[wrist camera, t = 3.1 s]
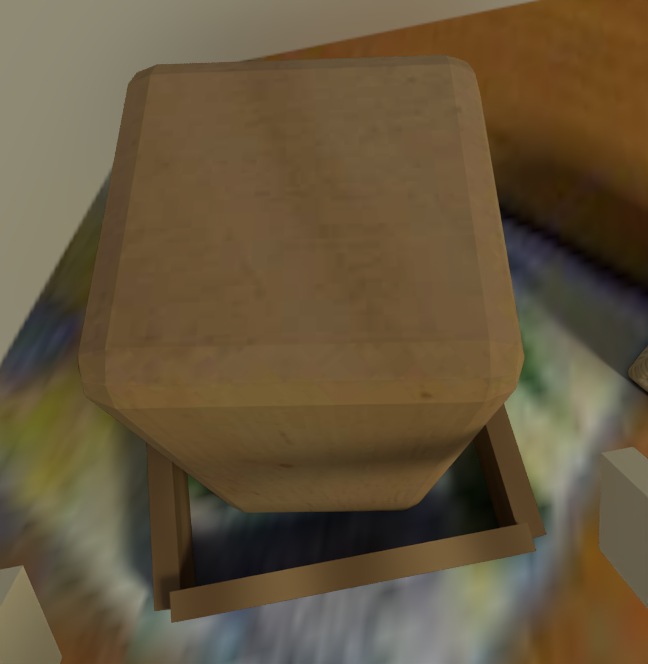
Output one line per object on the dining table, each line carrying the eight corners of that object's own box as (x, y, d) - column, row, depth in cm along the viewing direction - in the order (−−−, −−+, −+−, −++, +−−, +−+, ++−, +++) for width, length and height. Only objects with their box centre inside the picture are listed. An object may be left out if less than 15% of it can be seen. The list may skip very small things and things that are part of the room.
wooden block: (229, 515, 30) (49, 395, 11) (239, 340, 34) (118, 49, 16) (421, 512, 29) (547, 385, 11) (407, 337, 34) (483, 36, 15)
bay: (401, 133, 40) (406, 88, 36) (530, 552, 28) (558, 546, 25) (147, 174, 39) (127, 132, 36) (173, 622, 28) (147, 627, 24)
